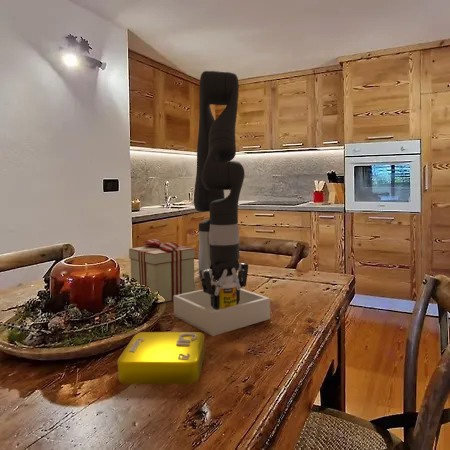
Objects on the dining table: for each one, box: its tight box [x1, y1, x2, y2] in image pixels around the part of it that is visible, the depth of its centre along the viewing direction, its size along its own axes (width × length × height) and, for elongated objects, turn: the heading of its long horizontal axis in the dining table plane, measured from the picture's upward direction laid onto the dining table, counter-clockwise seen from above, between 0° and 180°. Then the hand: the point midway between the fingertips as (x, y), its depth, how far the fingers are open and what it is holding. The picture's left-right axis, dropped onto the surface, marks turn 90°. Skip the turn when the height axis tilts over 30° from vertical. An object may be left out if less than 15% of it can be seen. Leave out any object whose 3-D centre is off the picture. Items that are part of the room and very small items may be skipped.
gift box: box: [128, 238, 196, 303], centre depth 128 cm, size 17×18×17 cm
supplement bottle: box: [215, 275, 237, 311], centre depth 104 cm, size 6×6×10 cm
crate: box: [172, 288, 271, 337], centre depth 106 cm, size 18×18×6 cm
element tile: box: [116, 331, 206, 385], centre depth 80 cm, size 15×15×5 cm
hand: (225, 306), depth 105 cm, fingers closed on supplement bottle, 5 cm apart
